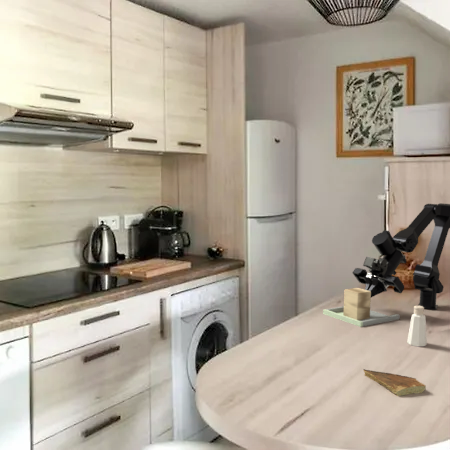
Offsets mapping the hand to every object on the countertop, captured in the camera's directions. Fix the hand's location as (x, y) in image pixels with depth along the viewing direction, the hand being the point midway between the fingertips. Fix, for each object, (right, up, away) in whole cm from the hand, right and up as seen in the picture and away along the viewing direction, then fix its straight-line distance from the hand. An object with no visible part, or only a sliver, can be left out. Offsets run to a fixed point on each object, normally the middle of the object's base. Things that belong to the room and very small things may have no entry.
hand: (364, 299), depth 178 cm
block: (-3, -6, -1) cm, 7 cm away
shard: (-8, -13, -54) cm, 57 cm away
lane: (-1, -7, 0) cm, 7 cm away
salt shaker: (+9, -10, -23) cm, 27 cm away
